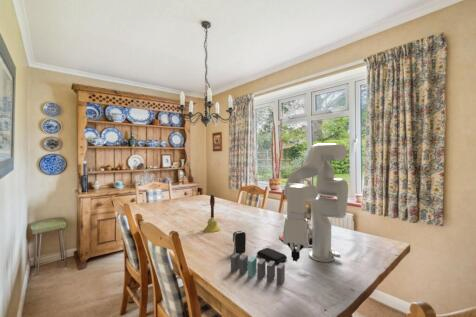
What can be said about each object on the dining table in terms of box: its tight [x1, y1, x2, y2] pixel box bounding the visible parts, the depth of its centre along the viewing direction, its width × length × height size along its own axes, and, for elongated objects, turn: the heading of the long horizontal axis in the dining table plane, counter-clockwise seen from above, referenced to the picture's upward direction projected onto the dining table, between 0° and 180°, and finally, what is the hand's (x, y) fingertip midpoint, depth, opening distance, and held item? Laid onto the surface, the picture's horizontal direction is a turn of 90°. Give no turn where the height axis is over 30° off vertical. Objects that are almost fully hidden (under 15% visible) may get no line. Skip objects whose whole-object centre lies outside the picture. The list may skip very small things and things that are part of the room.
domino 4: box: [256, 258, 267, 281], centre depth 103 cm, size 2×5×7 cm, turn 153°
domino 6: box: [276, 262, 286, 286], centre depth 100 cm, size 2×5×7 cm, turn 153°
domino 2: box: [238, 254, 249, 276], centre depth 107 cm, size 2×5×7 cm, turn 153°
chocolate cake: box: [278, 227, 312, 248], centre depth 150 cm, size 28×28×7 cm
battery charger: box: [232, 230, 247, 254], centre depth 130 cm, size 7×4×11 cm, turn 122°
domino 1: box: [230, 253, 241, 274], centre depth 109 cm, size 2×5×7 cm, turn 153°
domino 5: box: [266, 261, 276, 283], centre depth 102 cm, size 2×5×7 cm, turn 153°
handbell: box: [203, 194, 222, 234], centre depth 167 cm, size 12×12×25 cm
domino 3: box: [247, 256, 258, 278], centre depth 105 cm, size 2×5×7 cm, turn 152°
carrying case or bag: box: [256, 247, 288, 265], centre depth 123 cm, size 11×3×15 cm
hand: (295, 259), depth 96 cm, fingers closed
